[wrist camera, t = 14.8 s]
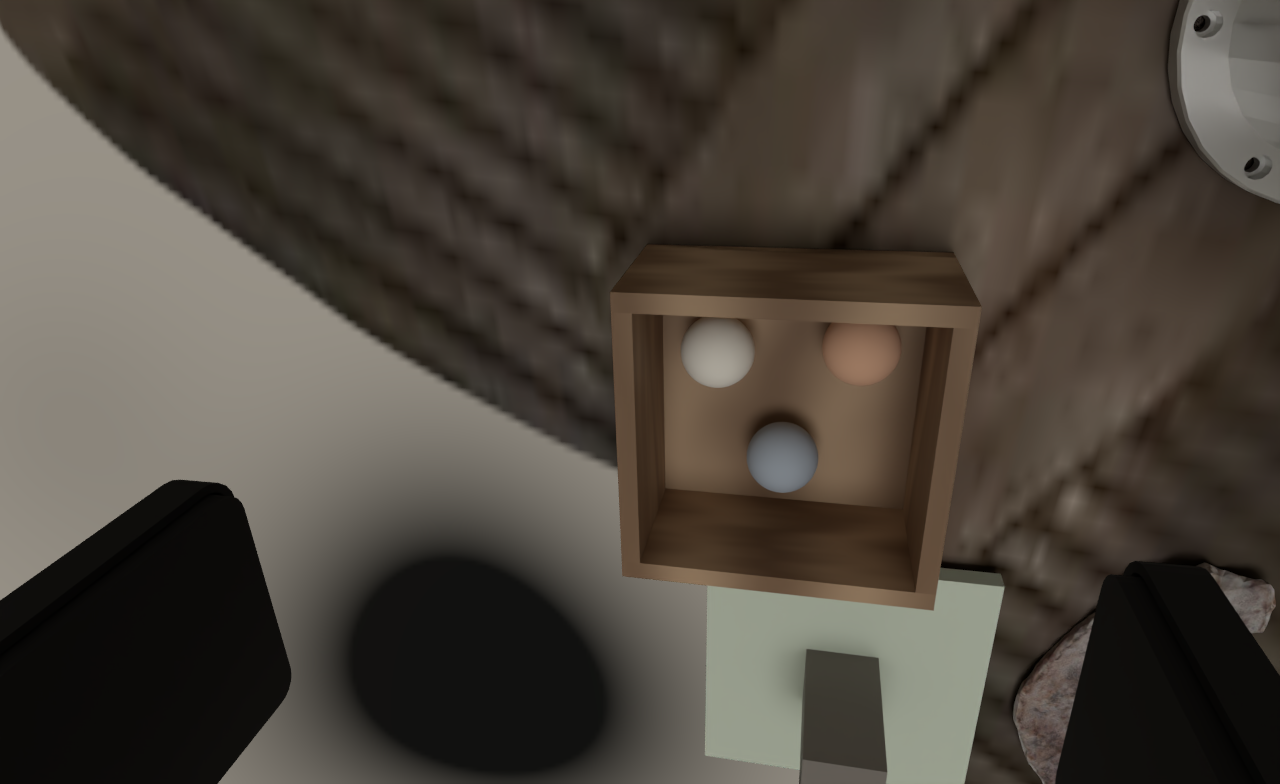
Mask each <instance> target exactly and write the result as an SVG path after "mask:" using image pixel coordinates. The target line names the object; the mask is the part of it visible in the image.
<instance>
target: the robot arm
mask: <svg viewBox="0 0 1280 784" xmlns="http://www.w3.org/2000/svg"><path fill="white" fill-rule="evenodd" d="M1199 16H1203V17H1204V18H1205V25H1204V27H1203V28H1202V29H1201V30H1200V31H1197V32H1196V31H1195V30H1194V23H1195V21H1196V19H1197V18H1198V17H1199ZM1168 76H1169V84H1170V92H1171V100H1172V104H1173V107H1174V110H1175V112H1176V115H1177V118H1178V120H1179V123H1180V126H1181V128H1182V131H1183V133H1184V134H1185V136H1186V137H1187V139H1188V140H1189V142H1190V143H1191V145H1192V146H1193V148H1194V149H1195V151H1196V152H1197V154H1198V155H1199V157H1200V158H1201V159H1202V160H1204V161H1205V162H1206V163H1207V164H1208V165H1209V166H1210V167H1211V168H1212V169H1214V170H1215V171H1216V172H1217V173H1218V174H1219V175H1220V176H1221V177H1223V178H1224V179H1226V180H1228V181H1230V182H1231V183H1233V184H1235V185H1237V186H1239V187H1241V188H1242V189H1244V190H1246V191H1248V192H1250V193H1252V194H1255V195H1257V196H1260V197H1263V198H1265V199H1268V200H1271V201H1273V202H1275V203H1279V204H1280V0H1180V1H1179V5H1178V9H1177V12H1176V16H1175V19H1174V23H1173V27H1172V30H1171V35H1170V47H1169V59H1168ZM1251 158H1253V159H1254V164H1253V165H1252V167H1250V168H1249V169H1247V170H1244V167H1245V165H1246V163H1247V161H1248V160H1250V159H1251ZM290 682H291V668H290V664H289V661H288V658H287V654H286V650H285V647H284V644H283V640H282V637H281V633H280V630H279V627H278V623H277V619H276V616H275V613H274V609H273V606H272V602H271V599H270V595H269V592H268V589H267V585H266V582H265V578H264V575H263V572H262V568H261V565H260V561H259V558H258V554H257V551H256V547H255V544H254V540H253V537H252V533H251V530H250V527H249V523H248V520H247V516H246V513H245V509H244V507H243V505H242V503H241V502H240V501H239V500H238V499H237V498H234V495H233V493H232V491H231V490H230V489H229V488H228V487H227V486H225V485H223V484H220V483H212V482H199V481H188V480H172V481H170V482H168V483H166V484H164V485H162V486H161V487H159V488H158V489H157V490H155V491H154V492H152V493H151V494H150V495H148V496H147V497H145V498H144V499H143V500H141V501H140V502H138V503H137V504H135V505H134V506H133V507H131V508H130V509H129V510H127V511H126V512H124V513H123V514H121V515H120V516H119V517H117V518H116V519H114V520H113V521H112V522H110V523H109V524H107V525H106V526H105V527H103V528H102V529H100V530H99V531H97V532H96V533H95V534H93V535H92V536H90V537H89V538H88V539H86V540H85V541H83V542H82V543H81V544H79V545H78V546H76V547H75V548H74V549H72V550H71V551H69V552H68V553H67V554H65V555H64V556H62V557H61V558H59V559H58V560H57V561H55V562H54V563H52V564H51V565H50V566H48V567H47V568H45V569H44V570H43V571H41V572H40V573H38V574H37V575H36V576H34V577H33V578H31V579H30V580H29V581H27V582H26V583H24V584H23V585H21V586H20V587H19V588H17V589H16V590H14V591H13V592H12V593H10V594H9V595H7V596H6V597H5V598H3V599H2V600H0V784H218V782H219V781H220V780H221V779H222V777H223V776H224V775H225V774H226V772H227V771H228V770H229V768H230V767H231V766H232V765H233V763H234V762H235V761H236V760H237V758H238V757H239V756H240V755H241V753H242V752H243V751H244V749H245V748H246V747H247V746H248V745H249V743H250V742H251V741H252V739H253V738H254V737H255V736H256V734H257V733H258V732H259V731H260V729H261V728H262V727H263V726H264V724H265V723H266V722H267V721H268V719H269V718H270V717H271V716H272V714H273V713H274V712H275V710H276V709H277V708H278V707H279V705H280V704H281V703H282V701H283V700H284V698H285V697H286V695H287V692H288V690H289V686H290ZM1055 784H1280V676H1279V674H1278V673H1277V671H1276V670H1275V668H1274V667H1273V665H1272V664H1271V662H1270V661H1269V659H1268V658H1267V656H1266V655H1265V653H1264V652H1263V650H1262V649H1261V647H1260V646H1259V644H1258V643H1257V641H1256V640H1255V639H1254V637H1253V636H1252V634H1251V633H1250V631H1249V630H1248V628H1247V627H1246V625H1245V624H1244V622H1243V621H1242V619H1241V618H1240V616H1239V615H1238V613H1237V612H1236V610H1235V609H1234V607H1233V606H1232V604H1231V603H1230V601H1229V600H1228V598H1227V597H1226V595H1225V594H1224V592H1223V591H1222V589H1221V588H1220V586H1219V585H1218V583H1217V582H1216V580H1215V579H1214V578H1213V576H1212V575H1211V574H1210V573H1209V572H1208V571H1207V570H1206V569H1205V568H1202V567H1199V566H1188V565H1176V564H1165V563H1153V562H1141V561H1134V562H1132V563H1130V564H1129V565H1128V567H1127V568H1126V569H1125V572H1124V575H1112V574H1111V575H1108V576H1107V577H1106V578H1105V580H1104V582H1103V585H1102V588H1101V592H1100V596H1099V600H1098V604H1097V608H1096V612H1095V616H1094V620H1093V624H1092V629H1091V633H1090V637H1089V641H1088V645H1087V649H1086V653H1085V657H1084V661H1083V665H1082V670H1081V674H1080V678H1079V682H1078V686H1077V690H1076V694H1075V698H1074V702H1073V707H1072V711H1071V715H1070V719H1069V723H1068V727H1067V731H1066V735H1065V739H1064V743H1063V748H1062V752H1061V756H1060V760H1059V764H1058V768H1057V772H1056V779H1055Z"/></svg>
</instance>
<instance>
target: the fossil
mask: <svg viewBox="0 0 1280 784" xmlns="http://www.w3.org/2000/svg"><path fill="white" fill-rule="evenodd" d="M1197 566H1199V567H1202V568H1205V569H1206V570H1207V571H1208V572H1209V573H1210V574H1211V575H1212V576H1213V578H1214V579H1215V580H1216V582H1217V583H1218V585H1219V586H1220V588H1221V589H1222V591H1223V592H1224V594H1225V595H1226V597H1227V598H1228V600H1229V601H1230V603H1231V604H1232V606H1233V607H1234V609H1235V610H1236V612H1237V613H1238V615H1239V616H1240V618H1241V619H1242V621H1243V622H1244V624H1245V625H1246V627H1247V628H1248V630H1249V631H1250V633H1263V631H1264V630H1265V628H1266V626H1267V624H1268V621H1269V618H1270V615H1271V612H1272V611H1273V609H1274V608H1275V606H1276V602H1275V592H1274V589H1273V587H1272V586H1271V584H1269V583H1267V582H1266V581H1264V580H1262V579H1257V580H1255V579H1251V578H1247V577H1244V576H1240V575H1237V574H1234V573H1231V572H1229V571H1226V570H1221V569H1219V568H1216V567H1214V566H1212V565H1210V564H1208V563H1205V562H1204V563H1202V564H1200V565H1197ZM1094 616H1095V613H1093V614H1091V615H1089V616H1088V617H1087V618H1086V619H1085V620H1084V621H1082V622H1081V623H1079V624H1077V625H1076V626H1074V628H1072V630H1071V631H1070V632H1068V633H1067V634H1066V635H1065V636H1064V637H1063V638H1062V639H1061V640H1060V641H1059V642H1058V643H1057V644H1055V645H1054V647H1053V648H1052V649H1051V650H1050V651H1048V652H1047V653H1046V654H1045V655H1044V656H1043V657H1042V659H1041V660H1040V661H1039V662H1038V663H1037V664H1036V666H1035V667H1034V669H1033V671H1032V672H1031V673H1030V675H1029V676H1028V677H1027V678H1026V679H1025V680H1024V681H1023V682H1022V683H1021V686H1020V688H1019V690H1018V693H1017V696H1016V700H1015V704H1014V711H1013V720H1014V722H1015V724H1016V727H1017V729H1018V734H1019V738H1020V741H1021V745H1022V748H1023V751H1024V754H1025V756H1026V759H1027V761H1028V763H1029V764H1030V765H1031V767H1032V768H1033V769H1034V771H1035V772H1036V773H1037V774H1038V776H1039V777H1040V779H1041V781H1042V783H1043V784H1055V779H1056V772H1057V768H1058V764H1059V760H1060V756H1061V752H1062V748H1063V743H1064V739H1065V735H1066V731H1067V727H1068V723H1069V719H1070V715H1071V711H1072V707H1073V702H1074V698H1075V694H1076V690H1077V686H1078V682H1079V678H1080V674H1081V670H1082V665H1083V661H1084V657H1085V653H1086V649H1087V645H1088V641H1089V637H1090V633H1091V629H1092V624H1093V620H1094Z"/></svg>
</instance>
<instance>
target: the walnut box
mask: <svg viewBox="0 0 1280 784" xmlns="http://www.w3.org/2000/svg"><path fill="white" fill-rule="evenodd" d="M610 302H611V325H612V348H613V371H614V393H615V416H616V439H617V461H618V481H619V482H618V484H619V505H620V506H619V507H620V529H621V551H622V575H623V576H626V577H635V578H645V579H653V580H662V581H671V582H680V583H689V584H698V585H707V586H716V587H725V588H734V589H743V590H752V591H761V592H770V593H779V594H788V595H797V596H806V597H815V598H824V599H833V600H842V601H851V602H860V603H869V604H878V605H887V606H896V607H905V608H914V609H923V610H932V611H934V605H935V599H936V592H937V586H938V580H939V574H940V567H941V561H942V555H943V548H944V542H945V536H946V529H947V523H948V517H949V510H950V504H951V498H952V492H953V485H954V479H955V473H956V466H957V460H958V454H959V447H960V441H961V435H962V428H963V422H964V416H965V410H966V403H967V397H968V391H969V384H970V378H971V372H972V365H973V359H974V353H975V347H976V340H977V334H978V328H979V321H980V315H981V309H982V306H981V304H980V303H979V301H978V299H977V297H976V295H975V293H974V291H973V289H972V287H971V285H970V283H969V281H968V279H967V277H966V276H965V274H964V272H963V270H962V268H961V266H960V264H959V262H958V260H957V258H956V256H955V254H954V252H918V251H881V250H845V249H808V248H772V247H735V246H699V245H662V244H647V245H646V247H645V248H644V249H643V250H642V252H641V253H640V254H639V256H638V257H637V258H636V259H635V261H634V262H633V263H632V265H631V266H630V267H629V268H628V270H627V271H626V272H625V274H624V275H623V276H622V277H621V279H620V280H619V281H618V283H617V284H616V285H615V286H614V288H613V289H612V290H611V292H610ZM702 317H721V318H735V319H737V320H739V321H740V322H741V323H742V324H744V325H745V326H746V328H747V329H748V330H749V332H750V334H751V336H752V338H753V341H754V346H755V355H754V360H753V363H752V366H751V368H750V370H749V371H748V373H747V374H746V375H745V376H744V377H743V378H742V379H741V380H740V381H738V382H737V383H735V384H733V385H731V386H728V387H723V388H713V387H708V386H705V385H702V384H700V383H698V382H697V381H695V380H694V379H693V378H692V377H691V376H690V375H689V374H688V372H687V371H686V369H685V367H684V365H683V362H682V359H681V344H682V340H683V337H684V335H685V333H686V331H687V330H688V329H689V327H690V326H691V325H692V324H693V323H694V322H696V321H697V320H699V319H700V318H702ZM831 323H854V324H877V325H895V326H896V328H897V330H898V332H899V335H900V338H901V344H902V351H901V356H900V359H899V362H898V364H897V366H896V368H895V369H894V370H893V372H892V373H891V374H890V375H889V376H887V377H886V378H885V379H883V380H882V381H880V382H878V383H875V384H872V385H867V386H856V385H851V384H848V383H845V382H843V381H841V380H840V379H838V378H837V377H835V376H834V375H833V374H832V373H831V372H830V370H829V369H828V367H827V366H826V363H825V361H824V358H823V353H822V343H823V338H824V335H825V332H826V330H827V329H828V327H829V326H830V324H831ZM775 422H789V423H793V424H796V425H798V426H800V427H802V428H803V429H804V430H806V431H807V432H808V433H809V434H810V436H811V437H812V438H813V440H814V442H815V444H816V447H817V450H818V465H817V469H816V471H815V474H814V476H813V477H812V479H811V480H810V481H809V482H808V483H807V484H806V485H805V486H803V487H802V488H800V489H798V490H795V491H792V492H787V493H779V492H774V491H770V490H768V489H766V488H764V487H763V486H761V485H760V484H759V483H758V482H757V481H756V480H755V479H754V478H753V476H752V475H751V473H750V471H749V468H748V465H747V449H748V445H749V443H750V441H751V439H752V437H753V436H754V435H755V434H756V432H757V431H759V430H760V429H761V428H763V427H764V426H766V425H768V424H771V423H775Z"/></svg>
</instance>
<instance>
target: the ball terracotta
mask: <svg viewBox="0 0 1280 784" xmlns="http://www.w3.org/2000/svg"><path fill="white" fill-rule="evenodd" d="M901 351H902V344H901V338H900V335H899V332H898V330H897V328H896V326H895V325H877V324H854V323H831V324H830V326H829V327H828V329H827V330H826V332H825V335H824V338H823V343H822V353H823V358H824V361H825V363H826V366H827V367H828V369H829V370H830V372H831V373H832V374H833V375H834V376H835V377H837V378H838V379H840V380H841V381H843V382H845V383H848V384H851V385H856V386H867V385H872V384H875V383H878V382H880V381H882V380H883V379H885V378H886V377H887V376H889V375H890V374H891V373H892V372H893V370H894V369H895V368H896V366H897V364H898V362H899V359H900V356H901Z"/></svg>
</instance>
